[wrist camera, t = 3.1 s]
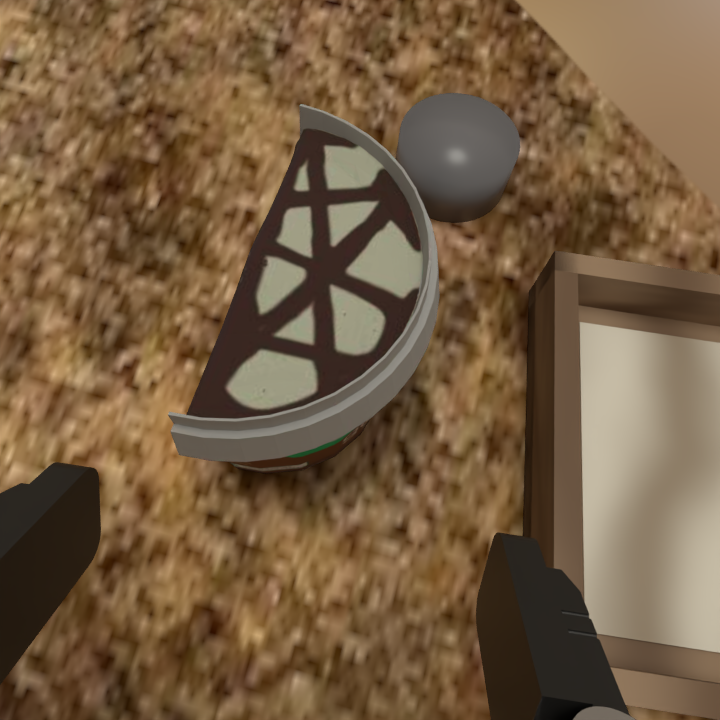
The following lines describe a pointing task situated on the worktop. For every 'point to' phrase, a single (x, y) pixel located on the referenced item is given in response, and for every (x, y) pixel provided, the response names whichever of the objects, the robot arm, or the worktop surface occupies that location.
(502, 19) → the worktop surface
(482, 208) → the grey domed puck
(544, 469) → the tray
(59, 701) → the worktop surface
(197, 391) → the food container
